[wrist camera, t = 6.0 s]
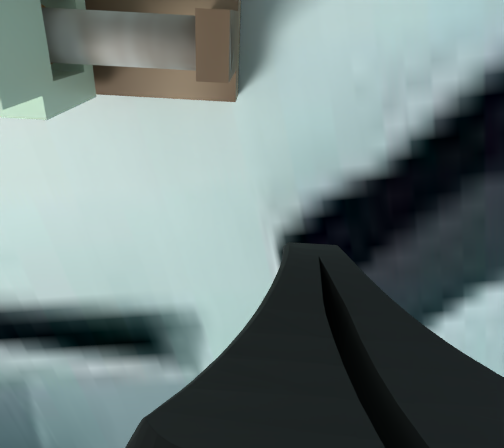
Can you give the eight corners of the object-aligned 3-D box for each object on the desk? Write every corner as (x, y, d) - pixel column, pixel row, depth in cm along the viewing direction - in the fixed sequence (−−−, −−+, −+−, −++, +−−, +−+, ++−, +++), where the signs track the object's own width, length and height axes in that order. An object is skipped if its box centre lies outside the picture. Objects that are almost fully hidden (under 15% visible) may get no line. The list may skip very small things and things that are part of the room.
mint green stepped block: (80, -38, 14) (-38, -72, 9) (96, 96, 16) (9, 137, 11) (9, -42, 14) (-152, -77, 9) (34, 93, 16) (-84, 132, 11)
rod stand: (241, -24, 16) (231, -40, 11) (237, 95, 18) (227, 122, 13) (6, -37, 16) (-98, -58, 11) (29, 83, 18) (-52, 106, 13)
